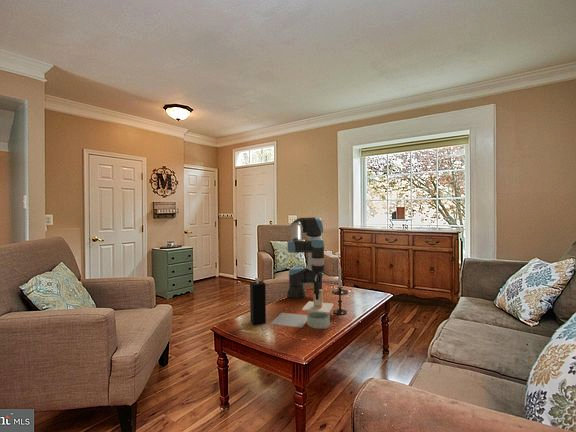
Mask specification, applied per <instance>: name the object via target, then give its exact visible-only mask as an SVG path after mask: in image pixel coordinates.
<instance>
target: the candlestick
mask: <svg viewBox="0 0 576 432" xmlns="http://www.w3.org/2000/svg"><path fill="white" fill-rule="evenodd" d="M337 272H338V273H337V274H338V277H337V278H338V279H337V280H338V282H337V283H338V286H336V289H332V290H331V293H332V295H336V296H338V300H337V302H338V305H337V306H338V308H336V309H333V310H332V312H333V314H335V315H337V316H344V315H346V314H348V311H347V310H346V309H344V308H342V303H343V300H342V296H347V295H348V294H349V290H347V289H345V288H344V287H343V286H342V267H341V261H339V262H338V268H337Z"/></svg>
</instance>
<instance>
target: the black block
mask: <svg viewBox="0 0 576 432" xmlns="http://www.w3.org/2000/svg"><path fill="white" fill-rule="evenodd" d="M260 279H261V277H256V278H254V280H255V281H251V282H249V297H250V301H249V302H250V303H249V304H250V305H249V306H250V307H249V308H250V311H249V312H250V317H249V318H250V322H251V324H252V326H259V325H265V324H267V309H266V306H267V304H266V303H267V302H266V287H267V285H266V283H265V282H264V281H263V280H261V281H260Z"/></svg>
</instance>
